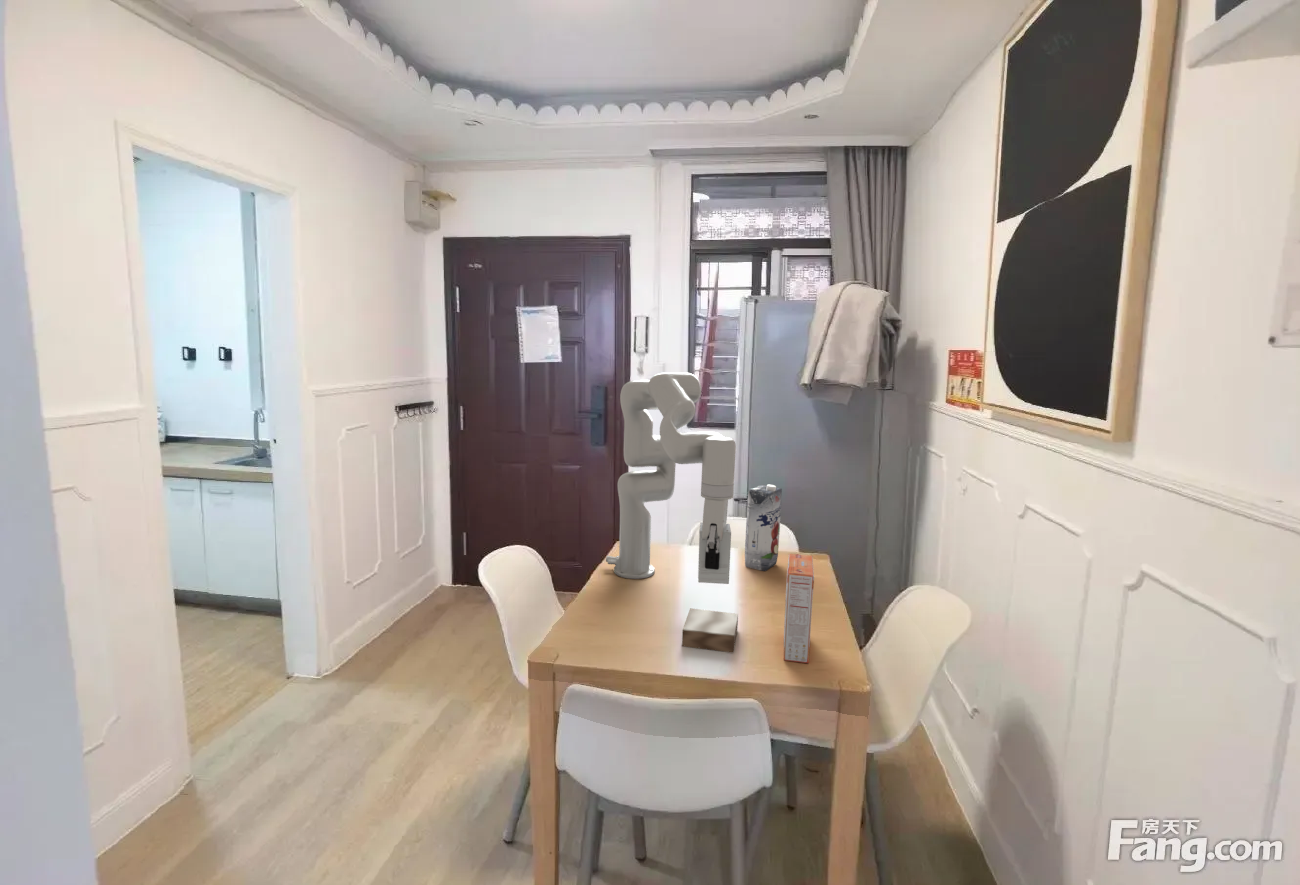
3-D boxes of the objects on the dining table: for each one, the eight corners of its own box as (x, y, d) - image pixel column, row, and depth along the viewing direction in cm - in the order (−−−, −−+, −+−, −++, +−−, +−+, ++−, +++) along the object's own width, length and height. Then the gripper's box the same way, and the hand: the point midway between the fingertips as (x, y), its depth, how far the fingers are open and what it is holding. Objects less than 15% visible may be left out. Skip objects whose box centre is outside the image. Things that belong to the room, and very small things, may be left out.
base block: (681, 646, 146) (682, 629, 145) (689, 624, 158) (690, 608, 157) (733, 652, 144) (734, 635, 143) (737, 630, 155) (738, 613, 155)
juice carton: (740, 567, 200) (745, 485, 196) (755, 558, 209) (759, 479, 204) (766, 573, 195) (771, 489, 191) (780, 564, 204) (785, 483, 199)
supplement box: (728, 573, 152) (730, 523, 150) (729, 585, 144) (731, 532, 142) (697, 571, 152) (700, 521, 150) (697, 583, 145) (699, 530, 143)
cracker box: (782, 633, 154) (788, 552, 151) (808, 637, 153) (814, 555, 149) (781, 661, 140) (787, 572, 137) (809, 665, 139) (815, 575, 136)
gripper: (705, 481, 154) (702, 549, 157) (696, 497, 137) (692, 573, 140) (736, 483, 153) (732, 552, 155) (730, 500, 136) (726, 577, 139)
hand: (713, 562), depth 148 cm, fingers closed on supplement box, 7 cm apart
